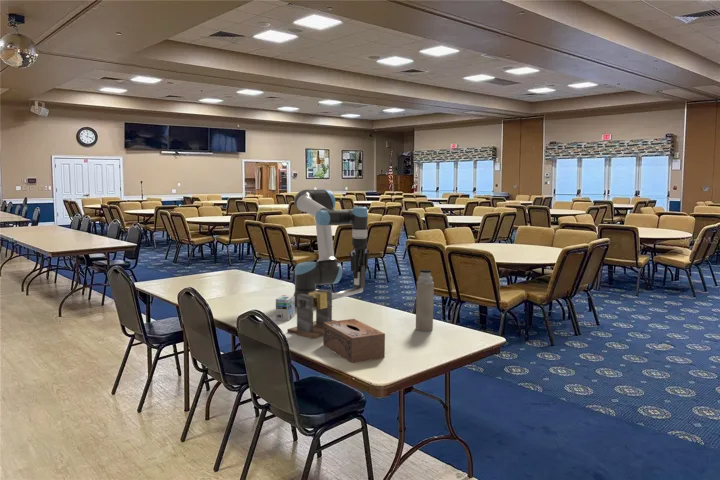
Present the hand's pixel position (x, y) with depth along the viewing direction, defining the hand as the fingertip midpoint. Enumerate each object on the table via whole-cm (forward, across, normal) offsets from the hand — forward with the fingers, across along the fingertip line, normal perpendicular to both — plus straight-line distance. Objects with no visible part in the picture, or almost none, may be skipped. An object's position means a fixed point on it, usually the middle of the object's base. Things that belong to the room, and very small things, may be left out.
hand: (359, 284), depth 279 cm
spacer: (+7, +31, 0) cm, 32 cm away
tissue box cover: (+18, +46, +32) cm, 59 cm away
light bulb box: (+17, +25, -27) cm, 41 cm away
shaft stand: (+17, +30, 0) cm, 35 cm away
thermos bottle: (+17, -2, +37) cm, 41 cm away
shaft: (+5, +14, 0) cm, 14 cm away
